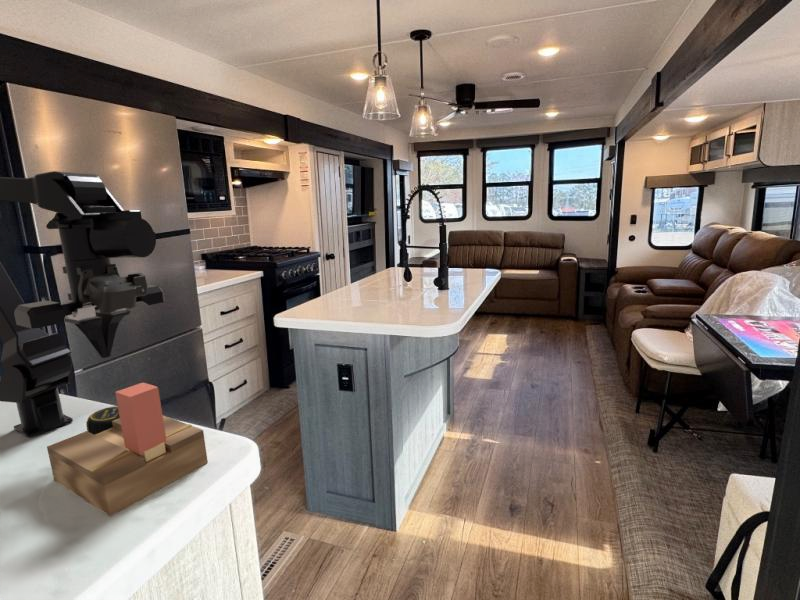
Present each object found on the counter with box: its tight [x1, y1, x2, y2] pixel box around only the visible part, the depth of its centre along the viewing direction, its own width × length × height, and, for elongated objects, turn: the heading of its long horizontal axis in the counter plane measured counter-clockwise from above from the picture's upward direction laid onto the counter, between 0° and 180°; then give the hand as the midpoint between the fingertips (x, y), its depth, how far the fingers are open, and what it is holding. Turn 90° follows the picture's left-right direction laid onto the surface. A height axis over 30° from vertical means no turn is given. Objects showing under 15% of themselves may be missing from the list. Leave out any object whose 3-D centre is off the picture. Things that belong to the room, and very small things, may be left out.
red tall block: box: [114, 382, 167, 462], centre depth 58 cm, size 4×4×9 cm
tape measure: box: [85, 405, 120, 435], centre depth 74 cm, size 7×7×4 cm
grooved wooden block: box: [46, 414, 209, 517], centre depth 62 cm, size 15×13×5 cm
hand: (105, 357), depth 71 cm, fingers closed
